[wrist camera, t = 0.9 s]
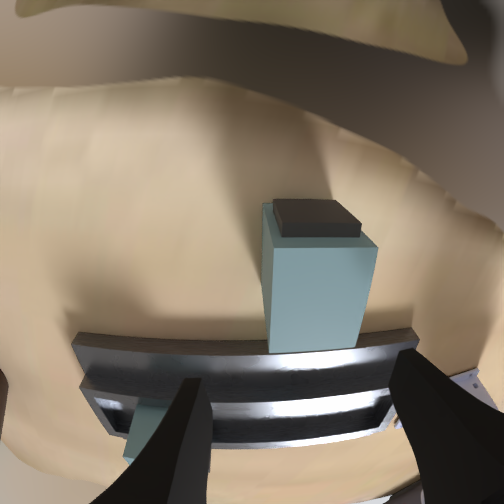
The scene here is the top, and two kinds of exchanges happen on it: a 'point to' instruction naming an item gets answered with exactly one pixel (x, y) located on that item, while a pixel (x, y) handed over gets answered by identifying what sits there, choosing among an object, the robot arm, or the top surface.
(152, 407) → the light blue block
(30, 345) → the top surface
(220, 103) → the top surface
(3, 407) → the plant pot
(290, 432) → the rail
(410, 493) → the bluetooth speaker
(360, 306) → the lidded storage box
